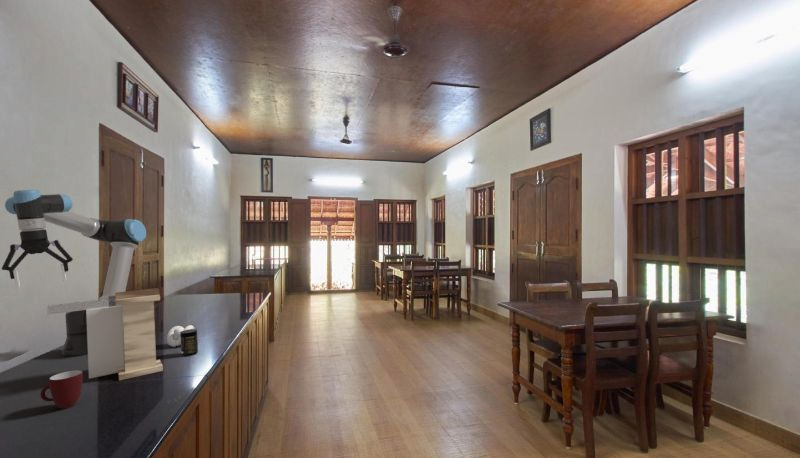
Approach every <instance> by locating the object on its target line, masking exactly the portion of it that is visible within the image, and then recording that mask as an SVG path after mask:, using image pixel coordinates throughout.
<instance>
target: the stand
mask: <svg viewBox="0 0 800 458" xmlns="http://www.w3.org/2000/svg"><path fill="white" fill-rule="evenodd" d="M159 301H161V295H160V289H159V287H158V288H157V287H156V288H148V289H138V290H129V291H127V290H126V291H125V292H117V293H115V302H116V306H118V305H122V316H123V349H124V367H121V368H118V373H117V375H118V381H122V380H128V379H131V378H135V377H136V378H137V377H141V376H145V375H150V374H154V373H158V372H163V371H164V365H163V363H162V361H161V359H157V351H156V323H155V302H159Z"/></svg>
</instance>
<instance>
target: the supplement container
mask: <svg viewBox="0 0 800 458" xmlns="http://www.w3.org/2000/svg"><path fill="white" fill-rule="evenodd" d="M180 337H181V345H180V354H181V356H182V357H191V356H196V355H197V354H198V352H199V346H198V343H199V342H198V341H199V340H198V329H197V328H194V329H189V330H184V331H181V332H180Z"/></svg>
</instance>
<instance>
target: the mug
mask: <svg viewBox="0 0 800 458" xmlns="http://www.w3.org/2000/svg"><path fill="white" fill-rule="evenodd" d="M83 373H84V372H83V370H77V369H75V370H69V371H64V372H60V373H57V374H55V375H52V376H51V377H49V378H48V380H49V381H48V385H45V386H44V387H43V388H42V389H41V391H40V394H39V395H40V398H41V399H42V401H45V402H53V404H54V405H56V406H57V408H58V409H59V408H60V410H65V409H69V408H72V407H73V406H75V405H76V404H77V402H78V401H79V399H80V397H81V394H82V388H83V387H82V386H83V380H84V375H83ZM47 390H49V391H50V394H51V397H48V396H47V395H46V391H47ZM64 408H65V409H64Z"/></svg>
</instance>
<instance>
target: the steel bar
mask: <svg viewBox="0 0 800 458" xmlns="http://www.w3.org/2000/svg"><path fill="white" fill-rule="evenodd" d="M108 298H109V299H100V300H98V299H92V300H85V301H84V300H83V301H76V302H66V303H57V304H49V305H47V307H46V309H47V315H55V314H63V313H66V312H72V311H80V310H88V309H96V308H104V307H112V306H116V302H115V295H113V296H108ZM118 306H120V305H118Z"/></svg>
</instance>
